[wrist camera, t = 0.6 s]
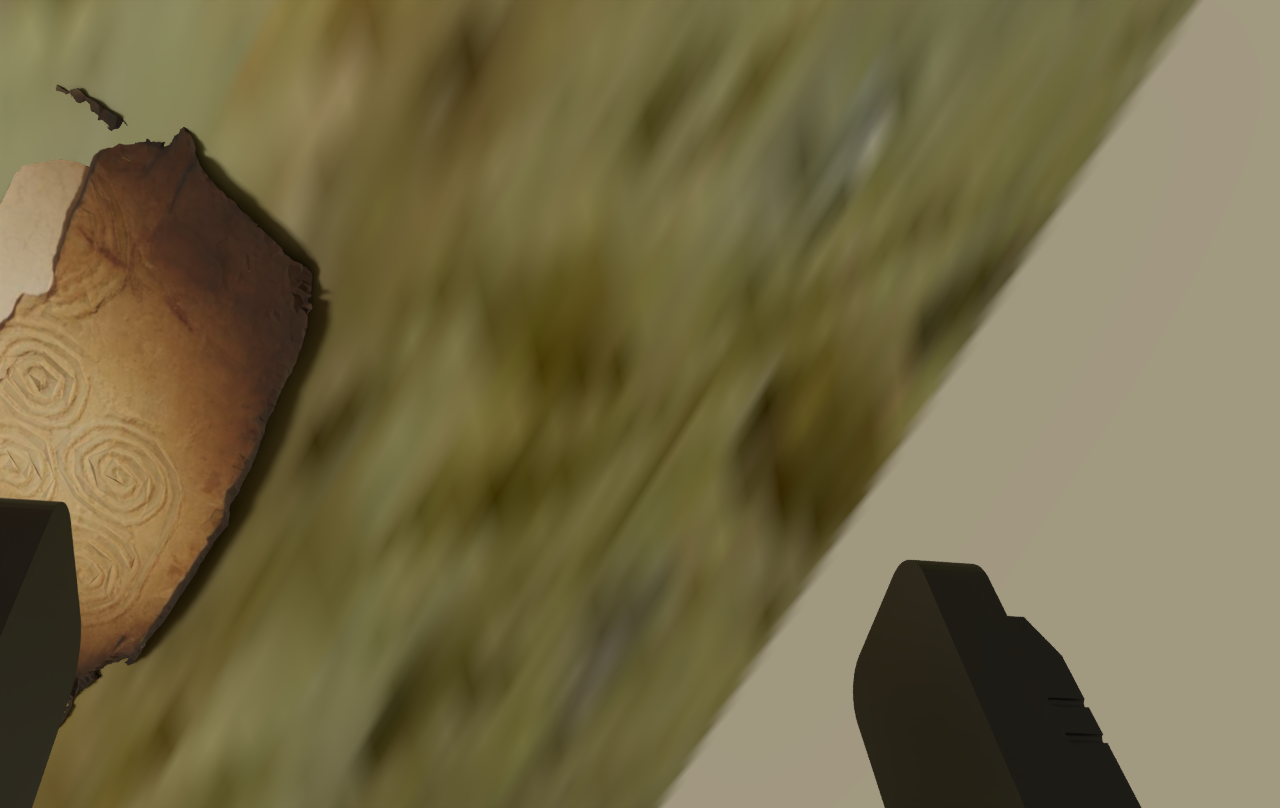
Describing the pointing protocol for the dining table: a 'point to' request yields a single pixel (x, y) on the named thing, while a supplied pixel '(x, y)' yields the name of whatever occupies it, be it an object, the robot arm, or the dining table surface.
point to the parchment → (137, 369)
